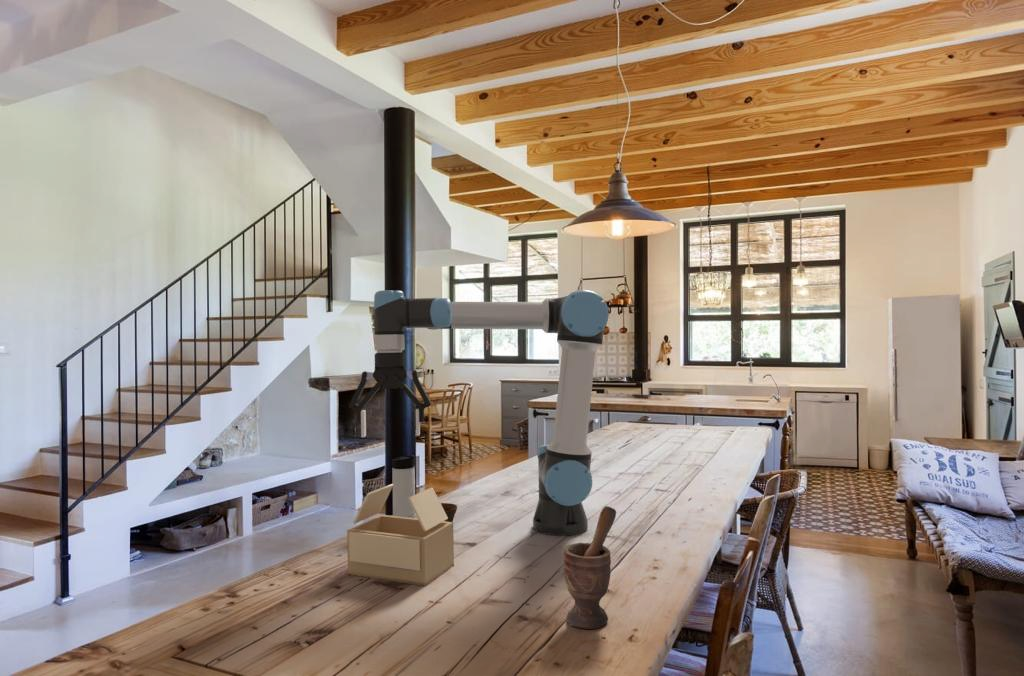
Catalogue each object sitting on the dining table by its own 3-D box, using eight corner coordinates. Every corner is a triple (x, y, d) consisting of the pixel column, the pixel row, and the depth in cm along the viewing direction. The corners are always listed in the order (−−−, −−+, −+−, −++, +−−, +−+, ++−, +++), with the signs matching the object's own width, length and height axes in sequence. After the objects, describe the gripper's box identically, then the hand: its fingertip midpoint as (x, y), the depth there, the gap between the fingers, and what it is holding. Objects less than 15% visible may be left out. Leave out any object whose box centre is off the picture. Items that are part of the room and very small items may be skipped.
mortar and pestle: (582, 601, 124) (580, 500, 124) (624, 610, 119) (622, 505, 120) (557, 625, 114) (555, 515, 114) (601, 635, 109) (599, 521, 109)
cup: (466, 535, 165) (462, 499, 164) (452, 550, 157) (447, 512, 156) (436, 533, 168) (431, 498, 167) (420, 549, 160) (416, 511, 159)
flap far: (354, 523, 142) (368, 494, 140) (353, 522, 142) (367, 493, 140) (380, 512, 151) (393, 484, 149) (378, 511, 151) (392, 483, 150)
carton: (455, 564, 146) (454, 521, 146) (423, 587, 132) (422, 540, 132) (382, 554, 153) (382, 513, 153) (345, 575, 140) (345, 530, 140)
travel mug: (412, 529, 174) (410, 457, 174) (389, 528, 175) (388, 457, 175) (419, 523, 180) (418, 453, 180) (398, 522, 181) (397, 453, 181)
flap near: (446, 519, 144) (430, 488, 146) (448, 518, 144) (432, 487, 145) (424, 531, 135) (407, 498, 136) (426, 530, 135) (409, 497, 136)
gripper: (440, 350, 163) (441, 432, 162) (342, 352, 161) (343, 434, 161) (438, 351, 155) (439, 436, 155) (336, 352, 153) (337, 439, 153)
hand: (390, 435), depth 158 cm, fingers open, 13 cm apart
